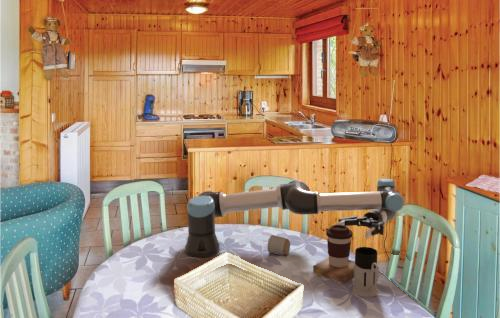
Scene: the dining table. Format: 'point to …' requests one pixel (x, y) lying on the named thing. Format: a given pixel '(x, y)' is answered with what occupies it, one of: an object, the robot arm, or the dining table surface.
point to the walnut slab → (335, 271)
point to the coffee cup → (339, 245)
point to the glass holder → (365, 272)
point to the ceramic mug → (278, 245)
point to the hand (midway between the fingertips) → (350, 231)
